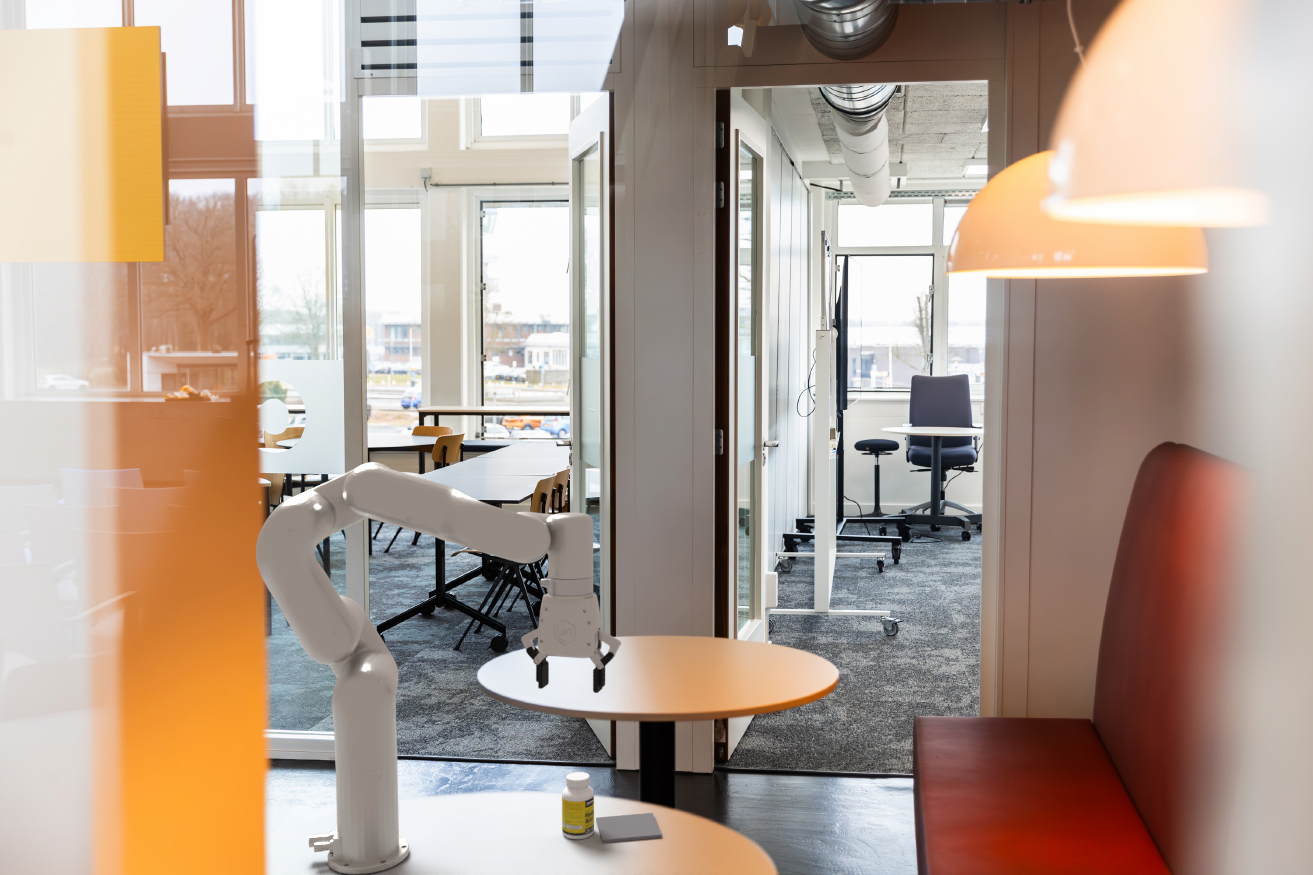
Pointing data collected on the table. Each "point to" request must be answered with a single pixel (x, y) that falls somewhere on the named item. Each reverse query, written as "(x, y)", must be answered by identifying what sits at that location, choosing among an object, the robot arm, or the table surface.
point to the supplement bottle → (577, 806)
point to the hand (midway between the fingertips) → (570, 688)
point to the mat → (628, 827)
